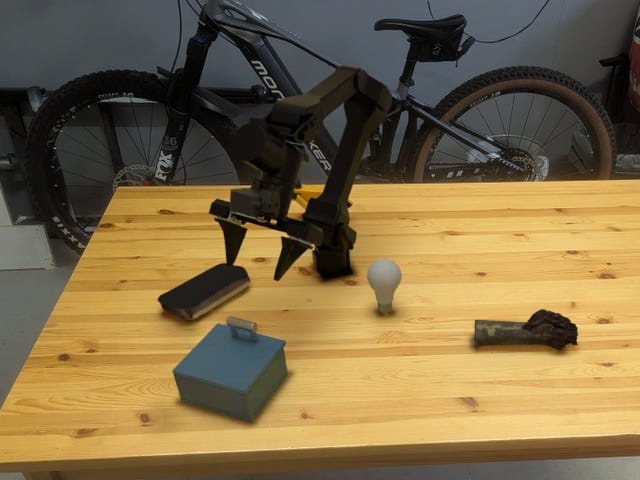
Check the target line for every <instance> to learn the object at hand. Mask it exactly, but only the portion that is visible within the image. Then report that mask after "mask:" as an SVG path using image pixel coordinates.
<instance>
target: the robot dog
mask: <svg viewBox="0 0 640 480" xmlns="http://www.w3.org/2000/svg"><path fill="white" fill-rule="evenodd" d="M324 187H325V185H324V186H323V185H309V184H304V183H302V181H301V179H300V178H298V179H297V182H296V186H295V190H294V192H295V193H297V194H298V195H297V199H296V200H294V199H292V200H291V202H292V201H294V202H297V204H299V205H300V206H301V207H302V208H303V209H305V210H306V207H307V203H308V201H309V199H310V198H311V197H312V198H317V197H318V196H320V195H321V194H322V192H323V190H324ZM353 203H354V202H353V201H352V200H351V199H350V198H348V201H347V207H348V209H350V208H351V207H352V206H353ZM304 213H305V212H302V214H301V217H302V216H303V214H304ZM300 221H302V219H301V220H300Z"/></svg>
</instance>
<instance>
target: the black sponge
mask: <svg viewBox="0 0 640 480" xmlns="http://www.w3.org/2000/svg"><path fill="white" fill-rule="evenodd" d="M250 283H251V278H250V276H249V273H248V271H247V269H246V268H245V267H243V266H241V265H234V264H233V266H232V267H229V266H227V264H226V262H221V263H218V264H216V265H214V266H212V267H210V268H208V269H206V270H205V271H203V272H201V273H199V274H197V275H195V276H194V277H192V278H190V279H187V280H186V281H184V282H182V283H181V284H179V285H177V286H176V287H174V288H172V289H170V290H168V291H166V292H164V293H162V294H160V295H159V296H158V297H157V302H158V303H159V304H160V307H161V309H162V310H164V311H166V312H167V313H171V314H174V315H176V316H178V317H179V318H180V319H182V320H188V321H194V320H195V319H197V318H199V317H200V316H202V315H205V314H206V313H208V312H209V311H210V310H212V309H214V308H215V307H217V306H219V305H220V304H222V303H223V302H225V301H227V300H229V299H230V298H232V297H234V296H236V295H237V294H239V293H240V292H241V291H243V290H245V289H246V288H248V287H249V286H250Z"/></svg>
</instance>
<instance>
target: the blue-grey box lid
mask: <svg viewBox="0 0 640 480" xmlns="http://www.w3.org/2000/svg"><path fill="white" fill-rule="evenodd" d="M257 329H258V323H257V322H256V321H251V320H247V319H244V318H240V317H236V316H231V315H230V316H228V317H227V319H226V324H222V323H216V324H215V325H214V326H213V327H212V328H211V330H209V331H208V333H207V334H206V335H205V336H204V337H203V338H202V339H201V340H200V341H198V343H197V344H196V345H195V346H194V347H193V348H192V349H191V350H190V351H189V352H188V353H187V354H186V355H185V356H184V357H183V359H182V360H181V361H180V362H179V363H178V364H177V365H176V366H175V367H174V368H173V369H172V370H171V371H172V374H173V376H174V375H178V376H181V377H185V378H189V379H192V380H196V381H199V382H203V383H206V384H210V385H213V386H217V387H220V388H224V389H227V390H231V391H234V392H238V393H241V394H245V395H246V394H247V393H248V391H249V390H250V389H251V388H252V386H253V385H254V384H255V383H256V381H257V380H258V379H259V378H260V376H261V375H262V374H263V373H264V371H265V370H266V369H267V368H268V366H269V365H270V364H271V363H272V361H273V360H274V359H275V358H276V356H277V355H278V354H279V353H280V351H281V350H282V349H283V348H284V349H285V347H286V345H287V341H286V339H285V340H284V339H281V338H277V337H273V336H269V335H266V334H262V333H257Z"/></svg>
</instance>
